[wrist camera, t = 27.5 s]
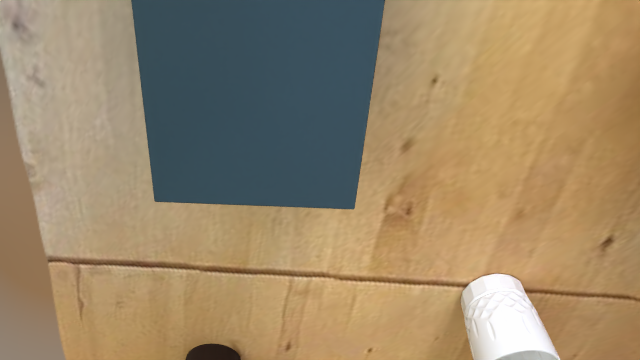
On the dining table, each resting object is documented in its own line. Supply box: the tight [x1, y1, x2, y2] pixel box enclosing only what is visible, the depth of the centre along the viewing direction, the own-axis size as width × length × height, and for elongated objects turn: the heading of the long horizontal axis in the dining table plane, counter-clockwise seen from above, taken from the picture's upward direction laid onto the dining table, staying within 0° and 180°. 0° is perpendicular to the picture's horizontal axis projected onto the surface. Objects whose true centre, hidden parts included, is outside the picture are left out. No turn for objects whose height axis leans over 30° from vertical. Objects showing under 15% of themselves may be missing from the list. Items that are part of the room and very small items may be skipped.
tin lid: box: [131, 0, 385, 209], centre depth 34 cm, size 16×14×1 cm
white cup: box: [461, 274, 561, 360], centre depth 58 cm, size 8×8×10 cm
